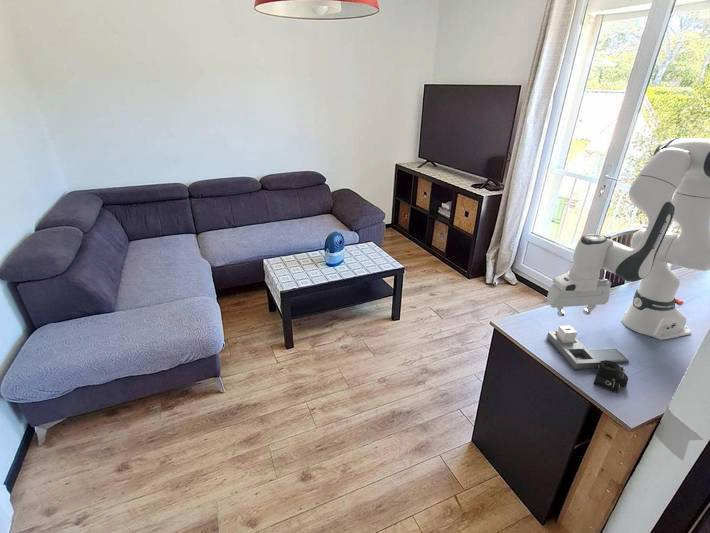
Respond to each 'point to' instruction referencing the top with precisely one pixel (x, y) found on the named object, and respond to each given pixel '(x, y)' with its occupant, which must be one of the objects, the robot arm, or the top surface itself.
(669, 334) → the robot arm
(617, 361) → the plate
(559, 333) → the charger
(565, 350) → the power strip
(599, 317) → the top surface
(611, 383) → the film camera
